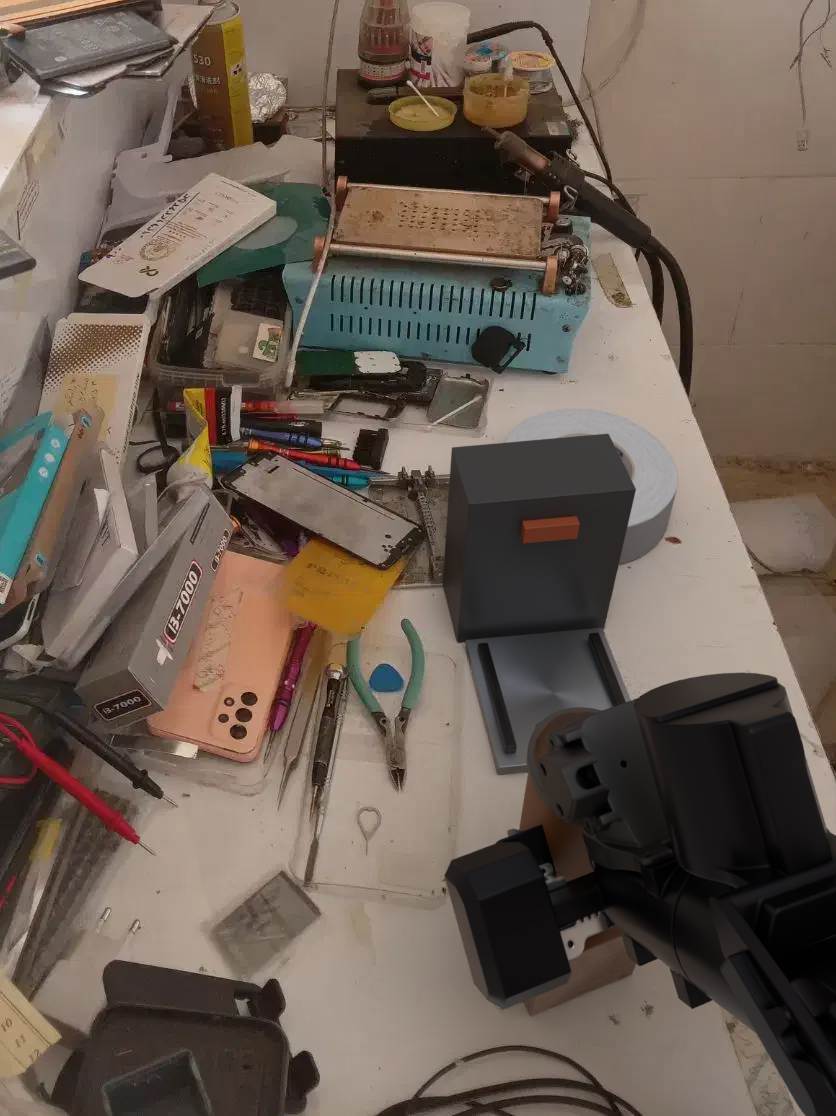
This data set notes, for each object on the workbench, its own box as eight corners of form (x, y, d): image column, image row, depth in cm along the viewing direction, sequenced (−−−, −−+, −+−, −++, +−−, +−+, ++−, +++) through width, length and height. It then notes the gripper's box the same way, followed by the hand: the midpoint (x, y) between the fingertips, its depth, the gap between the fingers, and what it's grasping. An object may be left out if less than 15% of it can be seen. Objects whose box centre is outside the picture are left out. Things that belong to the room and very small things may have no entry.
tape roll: (639, 593, 83) (649, 552, 80) (468, 527, 90) (472, 487, 87) (688, 479, 93) (699, 439, 90) (531, 427, 100) (536, 389, 97)
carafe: (644, 919, 57) (686, 797, 49) (544, 960, 55) (570, 841, 47) (570, 795, 63) (596, 669, 55) (477, 829, 61) (491, 705, 54)
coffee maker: (607, 637, 80) (640, 497, 70) (459, 651, 80) (471, 512, 70) (581, 572, 85) (608, 433, 76) (442, 584, 85) (451, 447, 75)
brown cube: (632, 974, 61) (652, 923, 57) (530, 1017, 59) (542, 968, 55) (571, 865, 66) (585, 811, 62) (475, 902, 65) (483, 849, 60)
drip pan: (649, 760, 72) (654, 747, 70) (497, 775, 71) (499, 761, 70) (600, 634, 80) (603, 620, 79) (464, 647, 80) (466, 633, 79)
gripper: (858, 668, 44) (662, 630, 59) (475, 807, 40) (370, 729, 55) (941, 924, 43) (719, 819, 58) (556, 1093, 39) (426, 933, 54)
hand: (562, 819), depth 56 cm, fingers closed on carafe, 6 cm apart
